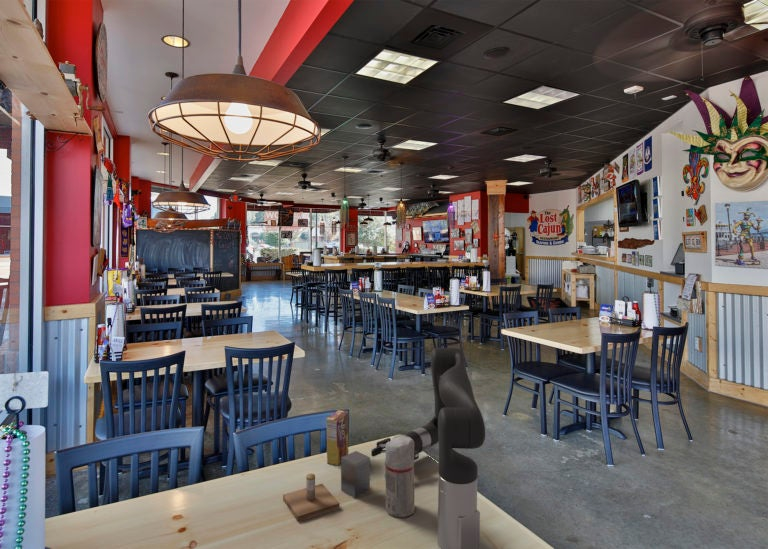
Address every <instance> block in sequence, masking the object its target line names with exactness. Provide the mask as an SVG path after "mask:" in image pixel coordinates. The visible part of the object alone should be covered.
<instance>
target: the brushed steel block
mask: <svg viewBox="0 0 768 549" xmlns="http://www.w3.org/2000/svg"><path fill="white" fill-rule="evenodd" d="M370 480H371V457H370V456H368V455H366V454H365V453H364V454H363V453H362V452H360V451H357V450H355V451H352V452H350V453H349V454H348V455H346V456H343V457H341V462H340V491H341V492H342V493H345V494H346V495H347V496H350V497H352V498H353V499H356V498H358V497H361V496H362V495H364V494H365V493H368V492H369V491H371V486H370V485H371V481H370Z"/></svg>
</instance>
